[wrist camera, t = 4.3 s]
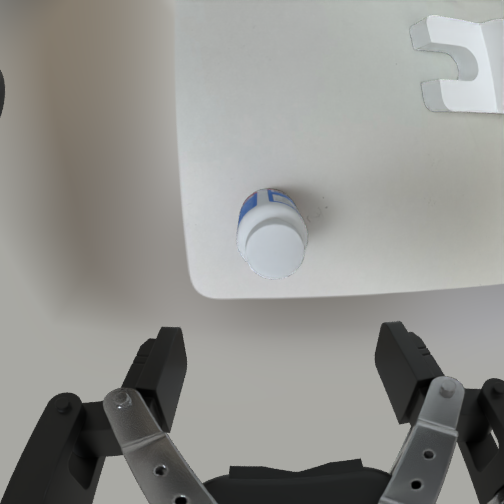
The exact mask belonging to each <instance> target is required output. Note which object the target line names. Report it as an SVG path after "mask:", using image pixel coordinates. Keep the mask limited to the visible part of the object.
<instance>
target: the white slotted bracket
mask: <svg viewBox="0 0 504 504" xmlns="http://www.w3.org/2000/svg"><path fill="white" fill-rule="evenodd" d="M410 35H411V39H412V43H413V47H414V50H424V51H436V52H444V53H447V54H449V55H450V56H451V57H452V58H453V59H454V60H455V62H456V63H457V66H458V69H459V77H458V79H457V80H446V79H437V80H433V81H428V82H423V83H421V86H422V92H423V98H424V103H425V105H426V107H427V108H428V109H429V110H431V111H433V112H474V113H493V114H504V19H493V20H490V21H487V22H484V23H481V24H478V23H474V22H469V21H465V20H460V19H454V18H449V17H443V16H437V15H430V16H428V17H426V18H425V19H423V20H421V21H420V22H418V23H416V24H414V25H413V26H412V27H411V28H410Z"/></svg>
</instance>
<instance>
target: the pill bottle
mask: <svg viewBox="0 0 504 504" xmlns="http://www.w3.org/2000/svg"><path fill="white" fill-rule="evenodd" d="M307 243H308V232H307V228H306V225H305V223H304V221H303V219H302V217H301V215H300V213H299V211H298V209H297V208H296V206H295V204H294V202H293V201H292V199H291V198H290V197H289V196H287V195H286V194H285V193H283V192H281V191H278V190H275V189H262V190H259V191H256V192H254V193H253V194H251V195H250V196H249V197H248V198H247V199H246V200H245V202H244V203H243V205H242V208H241V211H240V216H239V222H238V228H237V246H238V249H239V252H240V254H241V256H242V257H243V259H244V260H245V261H246V262H247V263H248V264H249V266H250V268H251V269H252V270H253V271H254V272H255V273H256V274H258V275H259V276H261V277H264V278H267V279H282V278H285V277H288V276H290V275H291V274H293V273H294V272H295V271H296V270H297V269H298V268H299V267H300V265H301V264H302V261H303V259H304V254H305V250H306V247H307Z"/></svg>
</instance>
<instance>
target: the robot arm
mask: <svg viewBox="0 0 504 504" xmlns="http://www.w3.org/2000/svg"><path fill="white" fill-rule="evenodd" d="M375 365H376V368H377V370H378V373H379V375H380V378H381V380H382V382H383V385H384V387H385V390H386V392H387V394H388V397H389V400H390V402H391V405H392V407H393V409H394V412H395V414H396V417H397V420H398V422H399V424H404V423H410V425H411V428H410V430H409V432H408V434H407V437H406V439H405V441H404V443H403V445H402V448H401V450H400V452H399V454H398V456H397V458H396V460H395V462H394V464H393V466H392V468H391V470H390V471H389V473H387V472H384V471H382V470H378V469H374V468H369V467H363V465H362V461H361V459H354V460H347V461H339V462H330V463H327V464H324V465H321V466H318V467H314V468H311V469H307V470H304V471H300V472H292V471H285V470H279V469H273V468H268V467H262V466H259V467H257V466H256V467H255V466H253V467H252V466H250V467H249V466H248V467H247V466H230V471H229V474H228V475H223V476H219V477H216V478H213V479H211V480H208V481H206V482H204V483H201V481H200V480H199V479H198V477H197V476H196V475H195V473H194V472H193V470H192V469H191V468H190V466H189V465H188V464H187V462H186V461H185V459H184V458H183V456H182V455H181V454H180V452H179V451H178V449H177V448H176V446H175V445H174V443H173V442H172V440H171V439H170V437H169V436H168V434H167V433H170V431H171V427H172V423H173V419H174V416H175V412H176V408H177V404H178V400H179V397H180V393H181V389H182V386H183V382H184V378H185V375H186V370H187V357H186V352H185V347H184V340H183V334H182V330H181V328H180V327H161V329H160V331H159V333H158V336H157V338H156V339H151V338H150V339H148V340H147V341H146V342H145V343H144V344H142V345H141V347H140V349H139V351H138V353H137V356H136V357H135V359H134V361H133V364H132V365H131V367H130V369H129V371H128V373H127V376H126V378H125V380H124V382H123V384H122V386H121V388H118V389H115V390H113V391H111V392H110V393H108V394H107V395H106V397H105V398H104V400H103V401H100V402H89V403H82V402H81V400H80V398H79V397H78V396H77V395H75V394H73V393H61V394H58V395H56V396H54V397H53V398H52V399H51V400H50V401H49V402H48V404H47V406H46V408H45V410H44V412H43V414H42V415H41V417H40V419H39V421H38V423H37V425H36V427H35V429H34V431H33V433H32V435H31V437H30V439H29V441H28V443H27V445H26V447H25V449H24V451H23V453H22V455H21V457H20V459H19V461H18V463H17V466H16V468H15V470H14V472H13V475H12V477H11V479H10V481H9V484H8V486H7V488H6V491H5V493H4V496H3V498H2V500H1V503H0V504H92V503H93V499H94V495H95V492H96V488H97V484H98V481H99V478H100V474H101V471H102V468H103V464H104V461H105V458H106V456H118V455H124V457H125V459H126V461H127V463H128V465H129V467H130V469H131V471H132V473H133V475H134V477H135V479H136V481H137V483H138V485H139V486H140V488H141V490H142V492H143V493H144V495H145V497H146V499H147V500H148V502H149V504H435V503H436V501H437V498H438V496H439V493H440V491H441V488H442V485H443V483H444V480H445V477H446V474H447V471H448V468H449V465H450V462H451V459H452V456H453V452H454V449H455V446H456V442H457V443H458V445H459V448H460V450H461V453H462V456H463V458H464V461H465V463H466V466H467V469H468V471H469V474H470V477H471V480H472V482H473V485H474V488H475V491H476V494H477V497H478V500H479V503H480V504H504V381H503V380H500V379H497V378H492V379H489V380H487V381H486V382H485V383H484V384H483V387H482V389H465V388H464V387H463V385H462V384H461V383H460V382H459V381H458V380H457V379H455V378H452V377H449V376H445V375H444V374H443V372H442V371H441V369H440V367H439V366H438V364H437V363H436V361H435V359H434V358H433V356H432V355H430V352H429V350H428V348H426V345H425V344H424V342H423V341H422V339H421V338H420V337H418V336H417V335H415V334H414V333H413V332H407V330H406V328H405V327H404V325H403V324H402V322H400V321H397V322H385V323H383V324H382V325H381V328H380V333H379V338H378V342H377V347H376V352H375ZM491 430H493V432H494V434H495V436H496V438H497V440H498V443H499V449H498V447H497V445H496V443H495V441H494V439H493V437H492V435H491Z"/></svg>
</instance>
